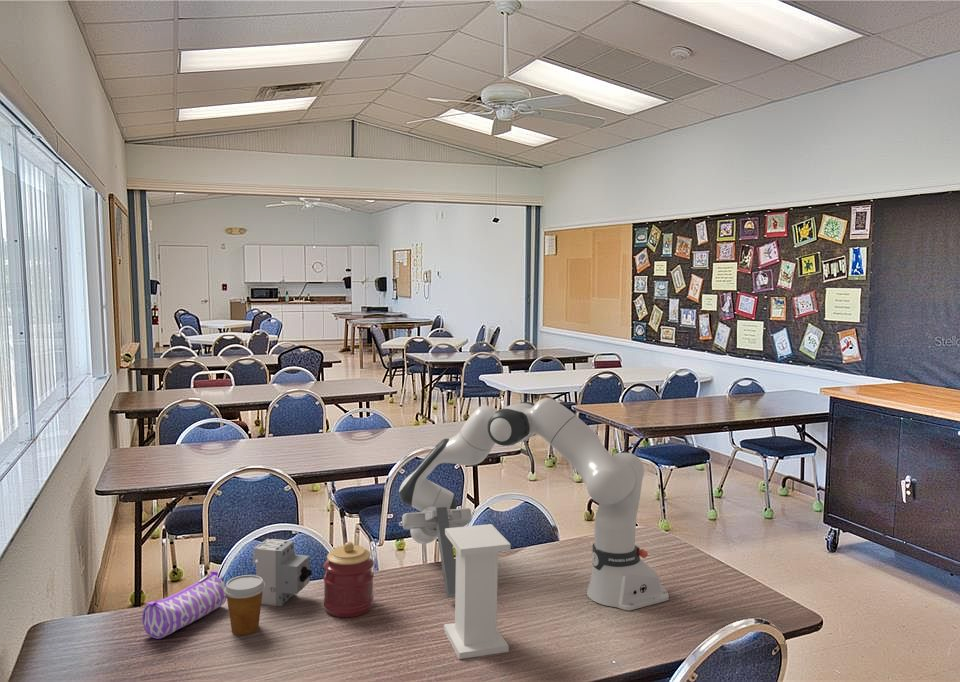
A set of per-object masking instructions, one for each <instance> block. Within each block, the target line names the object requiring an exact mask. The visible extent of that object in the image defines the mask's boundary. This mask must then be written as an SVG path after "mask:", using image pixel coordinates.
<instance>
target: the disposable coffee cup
mask: <svg viewBox="0 0 960 682" xmlns="http://www.w3.org/2000/svg"><path fill="white" fill-rule="evenodd" d="M225 586H226V587H225V588H224V592H225V594H226V596H227V599H226V601H227V608H228V615H229V616H228V617H229V620H230V628H231V629H230V630H231V633H233V634H234V635H236V636H247V635H250V634H251V635H252V634H253V633H255V632H257V631H258V629H259V626H260V618H261V609H262V604H261V602H262V593H263V589H264V587H265V584H264V582H263V579H262V578H261V577H259V576H256V574H255V575H254V574H245V575H244V574H243V575H239V576H235V577H233V578H230V579H229V580H228V581H227V582H226V584H225Z"/></svg>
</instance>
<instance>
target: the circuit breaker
mask: <svg viewBox="0 0 960 682" xmlns="http://www.w3.org/2000/svg"><path fill="white" fill-rule="evenodd" d="M252 554H253V555H252V564H253V565H255V568H256V569H255V571H256V572H255V573H256V574H255V575H256V576H259V577H261V578H262V579H263V582H264V584H265V587H264V589H263V593H262V602H261V605H268V606H276V607H282V606H283V605H285V603H286V602H287V601H289V599H291V598H292V597H293V596H294V595H298V594H299V593H300V592H301V591H302V590H303V589H304V588H305V587H306V586H307V585H308V584H309V583H311V581H310V579H311V577H310V576H312V574H313V573H312V569H310V567H311V566H310V564H311V563H310V561H311V560H310V555H305V554H296V553H295V541H294V540H288V539H278V538H277V539H276V538H271V539H270V538H266V539H265V540H263V541H262V542H261V543H259V544H258V545H256V546H255V547H253V553H252Z"/></svg>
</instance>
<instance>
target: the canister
mask: <svg viewBox="0 0 960 682" xmlns="http://www.w3.org/2000/svg"><path fill="white" fill-rule="evenodd" d="M326 559H327V560H326V561H325V562H324V564H323V569H324V570H325V573H324V576H323V581H324V582H323V583H324V585H323V589H324V591H323V593H324V594H323V595H324V596H323V597H324V598H323V606H324V610H325V612H326V613H327V614H328V615H331V616H333V617H337V618H353V617H358V616H361V615H364V614H366V613H367V612H369V611H370V610H371V609H372V608H373V603H374V576H375V575H374V572H373V571H372V570H373V569H372V568H373V567H374V564H375V563H374V560H373V559H372V557H371V552H370V551H369V550H368V549H366V548H365V547H363V546H360V545H355V544H354V543H353V542H351V541H347V542H345V544H343V545H341V546H337V547H335V548H334V549H332V550H331V551H330V552H328V553H327V555H326Z"/></svg>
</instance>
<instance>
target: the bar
mask: <svg viewBox="0 0 960 682" xmlns="http://www.w3.org/2000/svg"><path fill="white" fill-rule="evenodd" d="M435 511H437V518H435V521H436V528H437V535H438V537H437V541H438V549H439V554H440V555H439V556H440V563H441V571H442V575H443V583H444V584H443V585H444V589H445V598H455V585H456V559H455V554H454V546H453V545H452V543H451V542H450V541H449V539H448V538H447V536H446V535H445V528H450V527H449V520H448V514H447V507H441V508H436V509H435Z"/></svg>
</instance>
